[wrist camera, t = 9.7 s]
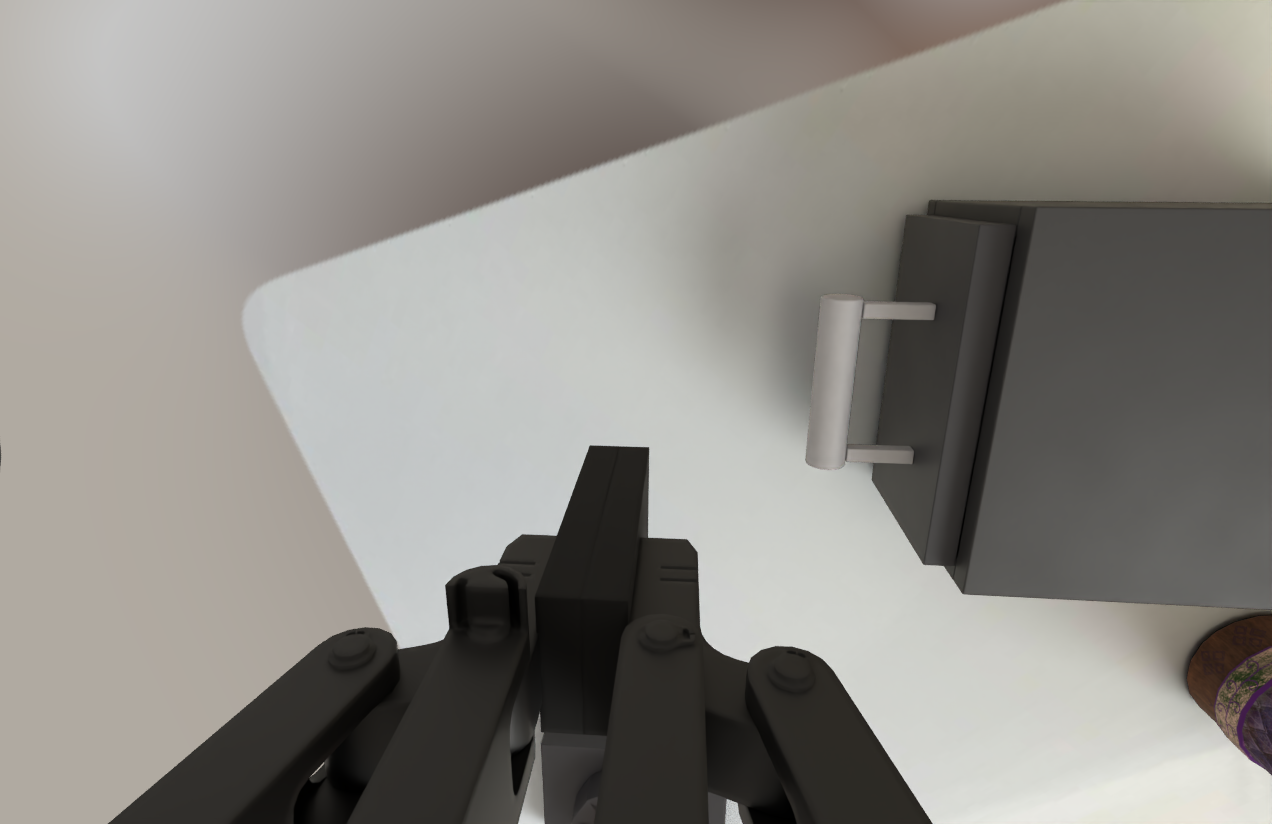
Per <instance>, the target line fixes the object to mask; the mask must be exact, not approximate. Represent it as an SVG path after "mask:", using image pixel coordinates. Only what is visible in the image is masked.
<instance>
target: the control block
mask: <svg viewBox="0 0 1272 824" xmlns="http://www.w3.org/2000/svg"><path fill="white" fill-rule="evenodd" d="M606 738H607V736H599V735H582V734H566V733H549V732H544V735H543V739H542V743H541V755H542V775H543V795H544V816H545V824H594V820H595V813H596V806H597V800H598V793H599V786H600V779H601V772H602V765H603V758H604V752H605V745H606ZM708 813H709V824H725V815H726V798H724V797H721V796H718V795H716V794H713V793H710V792H708Z"/></svg>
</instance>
